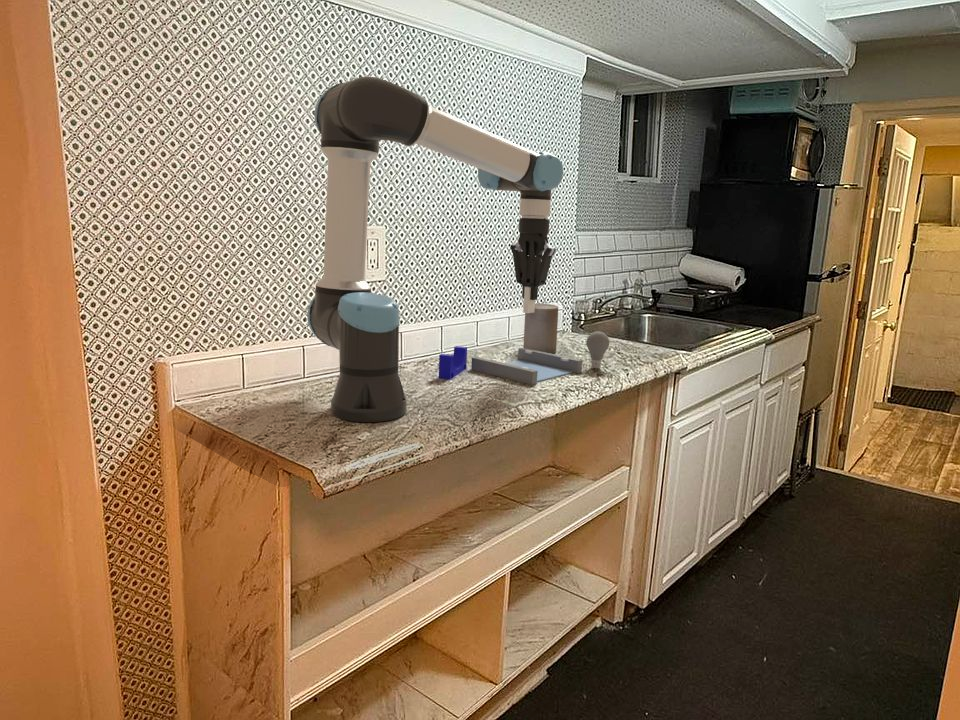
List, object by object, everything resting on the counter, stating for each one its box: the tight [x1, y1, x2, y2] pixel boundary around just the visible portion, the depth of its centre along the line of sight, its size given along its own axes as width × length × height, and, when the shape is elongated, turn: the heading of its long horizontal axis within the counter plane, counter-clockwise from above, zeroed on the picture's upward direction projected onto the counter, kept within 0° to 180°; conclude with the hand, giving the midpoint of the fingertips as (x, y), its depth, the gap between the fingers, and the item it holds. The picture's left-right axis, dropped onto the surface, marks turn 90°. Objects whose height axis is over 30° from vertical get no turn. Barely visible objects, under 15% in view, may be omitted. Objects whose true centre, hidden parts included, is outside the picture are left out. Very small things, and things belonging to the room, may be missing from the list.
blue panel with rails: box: [470, 347, 583, 386], centre depth 176 cm, size 21×20×3 cm
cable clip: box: [438, 345, 468, 380], centre depth 171 cm, size 12×4×6 cm, turn 162°
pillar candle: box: [522, 301, 559, 354], centre depth 199 cm, size 10×10×15 cm
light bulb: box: [585, 330, 610, 370], centre depth 181 cm, size 6×6×10 cm
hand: (528, 312), depth 173 cm, fingers closed
